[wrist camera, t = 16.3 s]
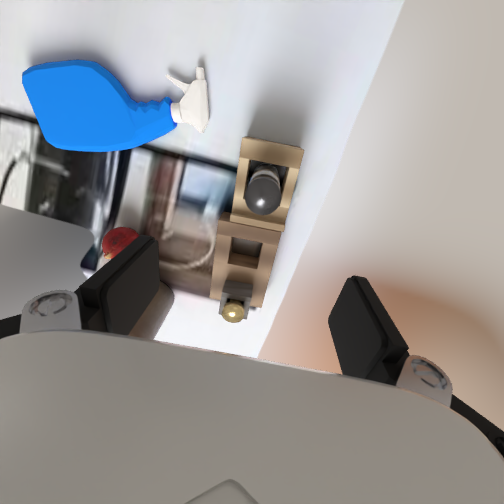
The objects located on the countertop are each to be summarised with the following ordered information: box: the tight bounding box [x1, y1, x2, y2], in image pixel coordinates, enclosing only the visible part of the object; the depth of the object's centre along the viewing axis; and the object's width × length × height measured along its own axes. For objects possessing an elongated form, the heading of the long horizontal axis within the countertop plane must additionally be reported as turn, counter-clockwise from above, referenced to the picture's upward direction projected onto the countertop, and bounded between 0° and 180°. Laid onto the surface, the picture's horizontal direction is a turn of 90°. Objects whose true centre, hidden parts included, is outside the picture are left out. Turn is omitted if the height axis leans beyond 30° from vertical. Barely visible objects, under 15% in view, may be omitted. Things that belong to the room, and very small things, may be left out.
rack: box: [230, 136, 304, 232], centre depth 33 cm, size 11×8×6 cm
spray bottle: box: [22, 60, 209, 152], centre depth 32 cm, size 3×11×24 cm
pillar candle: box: [128, 281, 174, 340], centre depth 43 cm, size 10×10×15 cm
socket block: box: [210, 212, 281, 319], centre depth 39 cm, size 16×10×8 cm, turn 170°
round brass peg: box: [222, 299, 245, 323], centre depth 39 cm, size 4×4×4 cm
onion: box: [102, 227, 139, 259], centre depth 39 cm, size 6×6×8 cm
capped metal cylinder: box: [245, 163, 281, 215], centre depth 30 cm, size 4×4×12 cm
